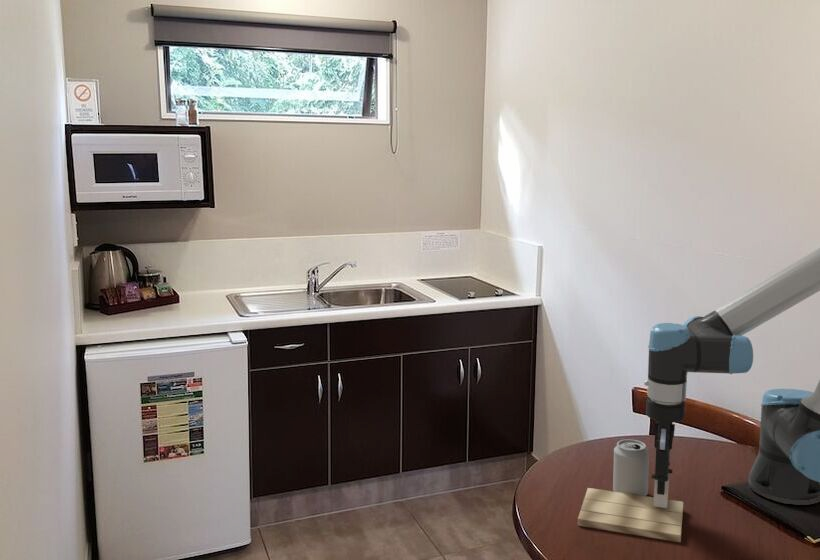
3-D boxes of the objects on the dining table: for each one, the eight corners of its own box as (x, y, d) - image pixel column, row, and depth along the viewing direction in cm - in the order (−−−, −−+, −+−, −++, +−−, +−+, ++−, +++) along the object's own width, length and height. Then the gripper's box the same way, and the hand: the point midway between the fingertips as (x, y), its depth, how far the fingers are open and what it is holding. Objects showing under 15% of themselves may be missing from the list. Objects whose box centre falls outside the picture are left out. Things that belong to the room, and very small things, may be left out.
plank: (683, 508, 155) (683, 501, 155) (681, 532, 147) (681, 525, 146) (587, 493, 163) (587, 487, 162) (580, 515, 154) (580, 509, 154)
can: (649, 503, 159) (651, 451, 157) (614, 501, 160) (615, 449, 158) (645, 487, 166) (646, 438, 164) (611, 486, 167) (612, 436, 165)
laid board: (681, 532, 147) (681, 525, 146) (680, 542, 143) (680, 535, 143) (580, 516, 154) (580, 509, 154) (577, 525, 151) (577, 518, 150)
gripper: (649, 385, 157) (644, 486, 162) (643, 408, 144) (638, 517, 149) (686, 389, 154) (680, 492, 159) (684, 413, 141) (677, 524, 146)
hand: (660, 504), depth 154 cm, fingers closed
